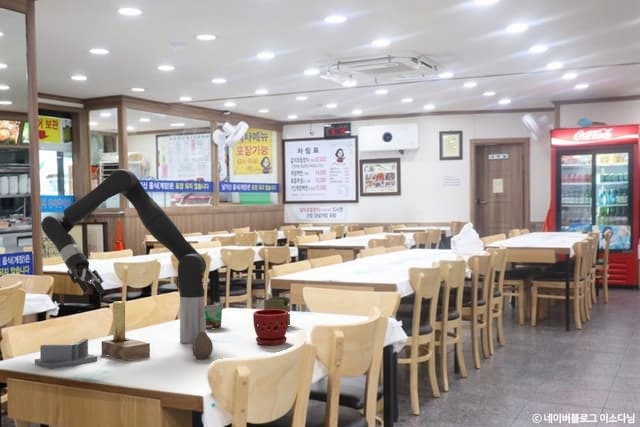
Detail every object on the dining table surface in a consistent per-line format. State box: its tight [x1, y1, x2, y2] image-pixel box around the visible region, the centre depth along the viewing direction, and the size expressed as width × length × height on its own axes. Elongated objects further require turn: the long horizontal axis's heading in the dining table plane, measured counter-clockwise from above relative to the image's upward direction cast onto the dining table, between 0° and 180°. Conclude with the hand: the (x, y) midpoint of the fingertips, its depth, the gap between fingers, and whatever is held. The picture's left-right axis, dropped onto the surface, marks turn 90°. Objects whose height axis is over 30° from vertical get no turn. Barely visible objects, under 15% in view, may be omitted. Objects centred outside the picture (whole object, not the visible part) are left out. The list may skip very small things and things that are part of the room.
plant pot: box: [252, 309, 289, 346], centre depth 252 cm, size 13×13×12 cm
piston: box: [263, 296, 291, 326], centre depth 291 cm, size 11×12×11 cm
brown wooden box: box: [101, 337, 151, 361], centre depth 232 cm, size 16×9×4 cm, turn 47°
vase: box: [191, 332, 214, 360], centre depth 226 cm, size 7×7×9 cm
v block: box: [34, 338, 98, 370], centre depth 221 cm, size 12×16×6 cm
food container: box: [205, 301, 224, 330], centre depth 288 cm, size 12×6×10 cm, turn 168°
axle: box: [112, 300, 126, 343], centre depth 234 cm, size 4×4×18 cm
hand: (94, 291), depth 247 cm, fingers open, 8 cm apart
